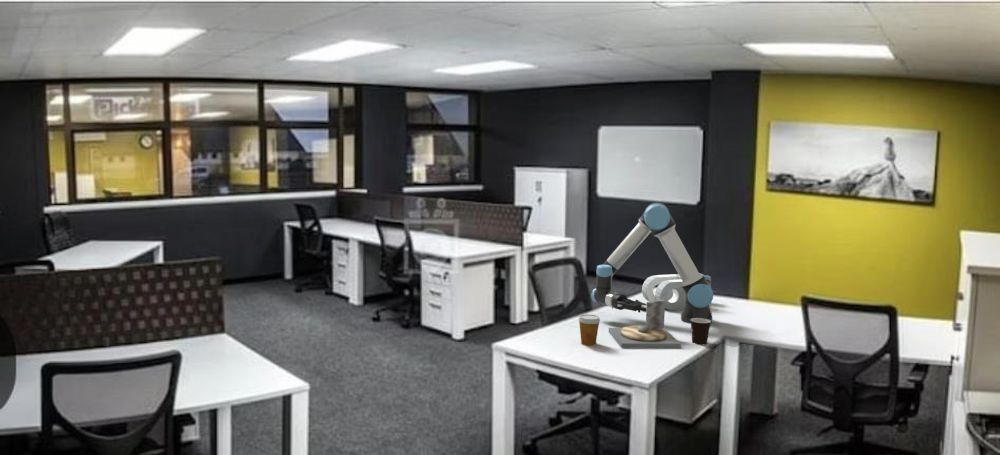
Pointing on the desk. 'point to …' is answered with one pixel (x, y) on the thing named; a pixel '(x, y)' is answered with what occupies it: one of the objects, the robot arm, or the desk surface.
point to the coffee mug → (700, 330)
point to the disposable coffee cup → (588, 328)
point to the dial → (649, 324)
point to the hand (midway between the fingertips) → (652, 311)
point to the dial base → (631, 343)
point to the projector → (665, 290)
